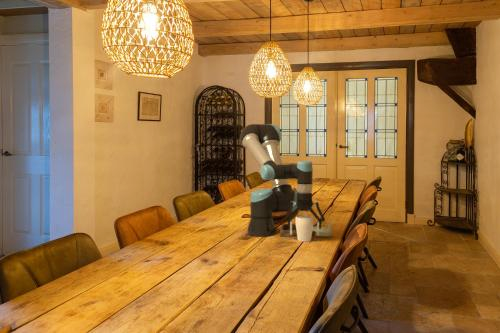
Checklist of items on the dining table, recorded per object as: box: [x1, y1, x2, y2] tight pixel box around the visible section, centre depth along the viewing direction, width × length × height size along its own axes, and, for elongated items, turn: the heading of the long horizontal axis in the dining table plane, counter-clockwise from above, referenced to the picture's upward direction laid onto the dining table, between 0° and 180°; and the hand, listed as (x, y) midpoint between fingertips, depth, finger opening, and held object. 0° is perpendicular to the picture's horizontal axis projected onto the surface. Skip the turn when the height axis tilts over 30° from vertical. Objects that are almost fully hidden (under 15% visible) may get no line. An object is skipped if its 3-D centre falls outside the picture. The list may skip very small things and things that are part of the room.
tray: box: [312, 219, 332, 237], centre depth 237 cm, size 17×13×6 cm
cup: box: [294, 214, 315, 243], centre depth 224 cm, size 9×9×12 cm
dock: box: [279, 223, 317, 239], centre depth 238 cm, size 18×16×3 cm
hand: (304, 234), depth 224 cm, fingers open, 13 cm apart
